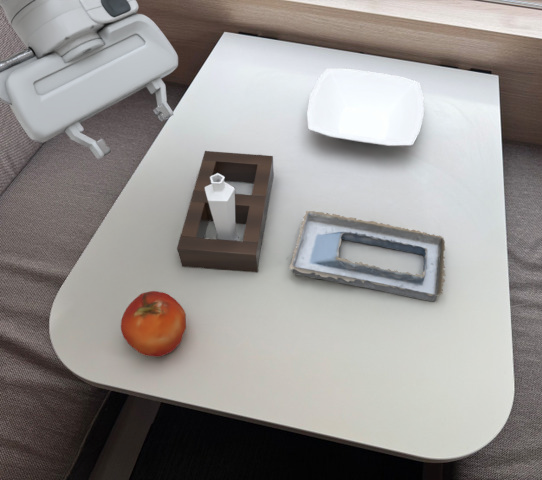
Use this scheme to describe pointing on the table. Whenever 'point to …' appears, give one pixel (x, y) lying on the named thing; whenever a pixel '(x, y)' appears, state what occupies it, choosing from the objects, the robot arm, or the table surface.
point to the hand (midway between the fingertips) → (137, 136)
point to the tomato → (153, 323)
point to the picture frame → (328, 266)
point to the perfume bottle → (222, 207)
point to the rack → (247, 211)
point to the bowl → (366, 107)
